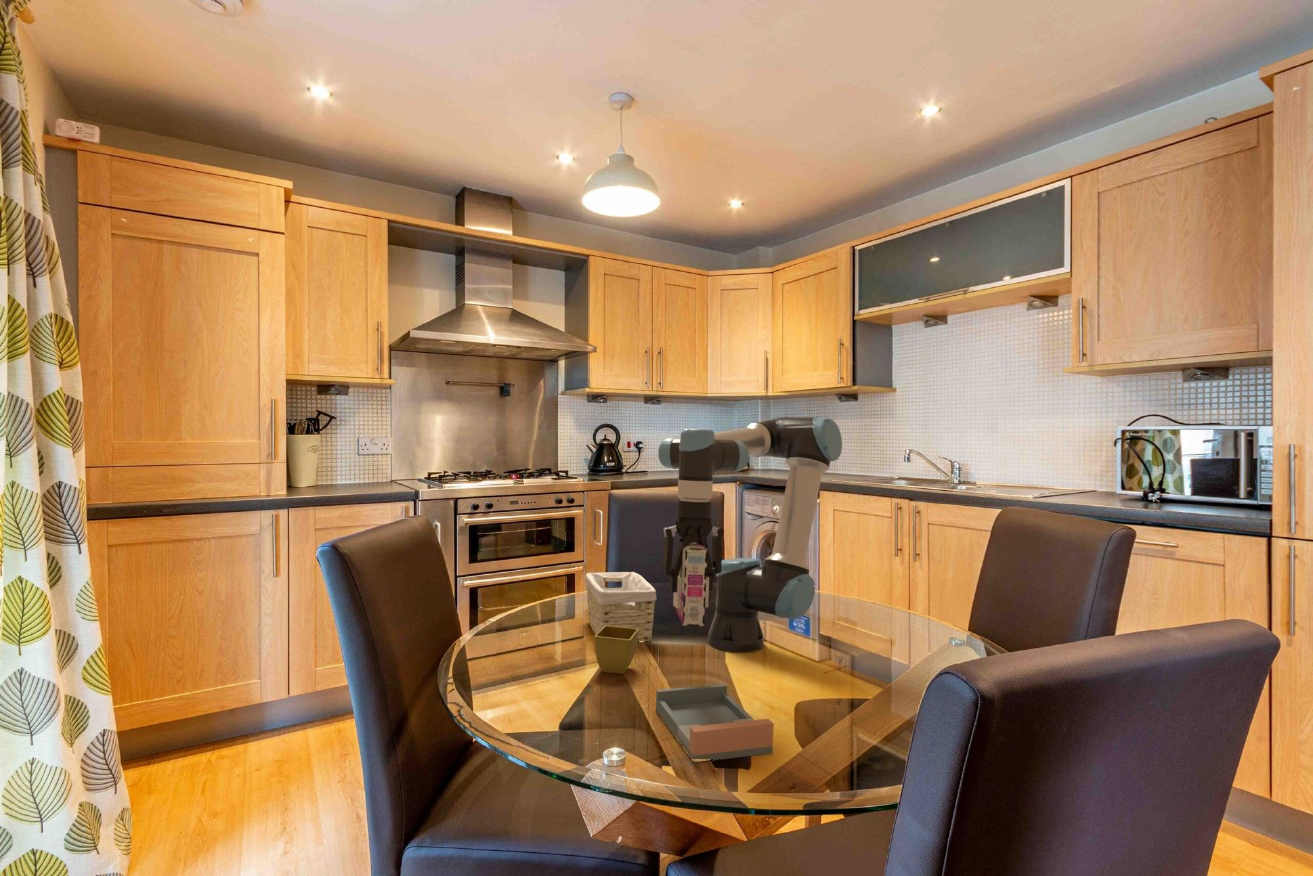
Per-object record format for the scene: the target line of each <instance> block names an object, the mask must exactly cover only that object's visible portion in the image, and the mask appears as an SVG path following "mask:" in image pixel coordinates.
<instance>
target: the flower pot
mask: <svg viewBox="0 0 1313 876" xmlns="http://www.w3.org/2000/svg"><path fill="white" fill-rule="evenodd" d="M638 632H639V629H635V628H626V627H616V626H604V627H603V628H602V629H601V630H600V631H599V632H598V633H597V634H595V635H594V637H593V638H594V649H595V657H596V661H597V665H598V666H599V668H600V670H601V671H602V672H603V673H610V674H616V675H617V674H618V675H619V674H620V675H624V674H625V673H626V671H627V670H628V668H629V666H630V665H631V663H632V662H633V658H634V657H635V654H636V650H637V645H638V642H637V639H638Z"/></svg>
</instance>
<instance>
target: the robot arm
mask: <svg viewBox="0 0 1313 876" xmlns="http://www.w3.org/2000/svg"><path fill="white" fill-rule="evenodd" d="M842 451H843V439H842V434H841V431H840V427H839V426H838V424H837V422H836V421H835V420H834V419H832V418H829V417H820V416H812V417H810V416H804V417H802V416H801V417H800V416H798V417H795V416H794V417H793V416H791V417H789V416H784V417H781V416H780V417H776V418H772V419H767V420H763V421H758V422H754V423H753V422H752V423H750V424H748V425H746V427H744V428H739V429H738V428H737V429H733V430H731V429H730V430H726V431H720V432H719V431H718V432H715V431H714V430H713V429H705V428H704V429H703V428H702V429H701V428H685V429H683V430H682V431H681V433H680V437H677V436H675V437H668V438H665V439H663V440H662V441H661V443H660V444H659V446H658V449H657V452H658V461H659V462H660V464H661V465H662V466H663V467H665V468H669V469H672V470H676V469H677V470H678V479H677V481H678V482H677V497H678V498H679V500H678V501H677V505H676V521H675V523H674V524H673V525H672V526H669V527H666V526H664V527H663V528H662V533H663V537H664V539H663V540H664V542H663V551H662V552H663V553H662V554H663V555H662V563H661V564H662V566H661V572H662V573H663V574H664V575H667V576H669V577H670V578H669V590H670V592H672V593H673V598H672V599H673V602H672V603H673V604H672V606H673V607H674V608H675V609H676V610H677V609H681V586H682V578H681V577H679V573H680V569H681V566H682V557H683V546H689V544H690V543H694V542H696V543H698V544H700V545H702V546H704V547H705V548H707V549H708V551H707V575H706V599H705V608H709V595H710V594H709V593H710V592H712V590H713V585H714V584H713V583H714V578H715V577H716V586H715V611H714V612H715V613H714V617H713V620H712V622H711V625H710V627H709V631H708V635H707V643H708V644H709V645H710V646H712V647H714V648H716V649H719V650H722V651H726V652H733V653H734V652H735V653H750V652H751V653H752V652H756V651H759V650H761V649H763V648H764V644H765V643H764V641H765V639H764V633H763V630H762V626H761V623H760V619H759V612H760V613H764V614H767V615H772V616H776V617H778V618H780V619H781V618H782V619H790V620H798V619H800V618H803V616H804V615H806V613H807V612H808V611H809V610H810V608H811V606H812V604H813V601H814V599H815V594H816V588H815V585H816V584H815V580H814V579H813V577H812V576H810V575H809V574H810V567H809V566H808V564H807V563H806V558H807V554H808V553H807V552H808V547H809V542H810V538H811V532H812V528H813V523H814V522H813V521H814V517H815V511H816V508H817V507H816V506H817V501H818V497H819V491H820V487H821V486H820V485H821V481H822V476H823V474H824V473H826V472H828V471H829V469H830V464H831V462H835V461H838V460H839V459H840V457H841V455H842ZM750 456H751V457H754V458H761V457H770V458H771V457H772V458H773V457H774V458H780V459H785V463H787V465H788V467H789V471H788V476H787V481H786V485H785V491H784V494H783V495H784V496H783V500H782V505H781V510H780V515H779V518H778V519H779V520H778V523H777V528H776V534H775V539H774V542H773V543H774V545H773V550H772V551H771V552H772V553H771V554H770V555H769V556H767V557H766V558H764V563H763V566H762V563H761V560H760V559H759V558H754V557H739V558H738V557H737V558H726V559H722V555H723V554H722V550H723V549H722V546H723V545H722V539H723V537H724V536H723V535H724V533H725V530H724V528H722V527H719V526H714V525H713V523H712V511H713V503H712V501H710V500H712V499H713V484H714V483H713V478H714V473H730V474H732V473H735V472H740V471H742V470H744V469H745V468H746V466H747V464H748V463H749V457H750ZM676 533H677V534H678V536H679V540H678V541H677V543H678V544H677V547H676V551H675V554H674V558H673V551H674V537H675V536H676ZM710 533H711V536H712V538H711V548H712V549H711V556H710V550H709V547H708V546H709V544H708V539H707V537H708V536H709V534H710ZM711 557H712V559H711ZM672 560H673V561H672Z"/></svg>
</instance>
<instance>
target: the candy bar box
mask: <svg viewBox="0 0 1313 876" xmlns="http://www.w3.org/2000/svg"><path fill="white" fill-rule="evenodd" d="M708 550H709V548H708V549H707V548H705V547H704V546H702V545H700V544H698V543H696V542H694V543H690V544H689V546H683V557H682V566H681V569H680V573H679V577H681V578H682V586H681V609H677V608H676V615H677V616H678V618H679V620H680V623H681V625H682V627H697V628H698V627H705V626H706V624H705V623H706V607H705V599H706V575H707V551H708Z"/></svg>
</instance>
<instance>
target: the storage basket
mask: <svg viewBox="0 0 1313 876" xmlns="http://www.w3.org/2000/svg"><path fill="white" fill-rule="evenodd" d="M605 582H607V583H609V582H612V583H613V582H614V583H616V582H621V587H605V585H604V584H605ZM585 585H586V593H587V598H586V601H587V615H588V617H587V619H588V622H589V624H590V628H591V629H592V631H593V633H594V634H595V635H596V634H597V633H598V632H599V631H600V630H601V629H602V628H603V627H604V626H616V627H626V628H635V629H639V632H638V639H637V641H648V642H650V641H649V640H651V641H652V636H653V627H654V618H655V616H654V615H655V602H656V601H657V593H656V592H657V591H656V589H655V587H653V586H652V584H650V582H648V581H647V580H646V579H645V578H644V577H643V576H642V575H640V574H639V573H636V572H635V571H631V572H630V571H628V572H627V571H621V572H619V571H618V572H617V571H615V572H613V571H612V572H611V571H610V572H607V571H606V572H603V571H602V572H587V573H586V574H585Z"/></svg>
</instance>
